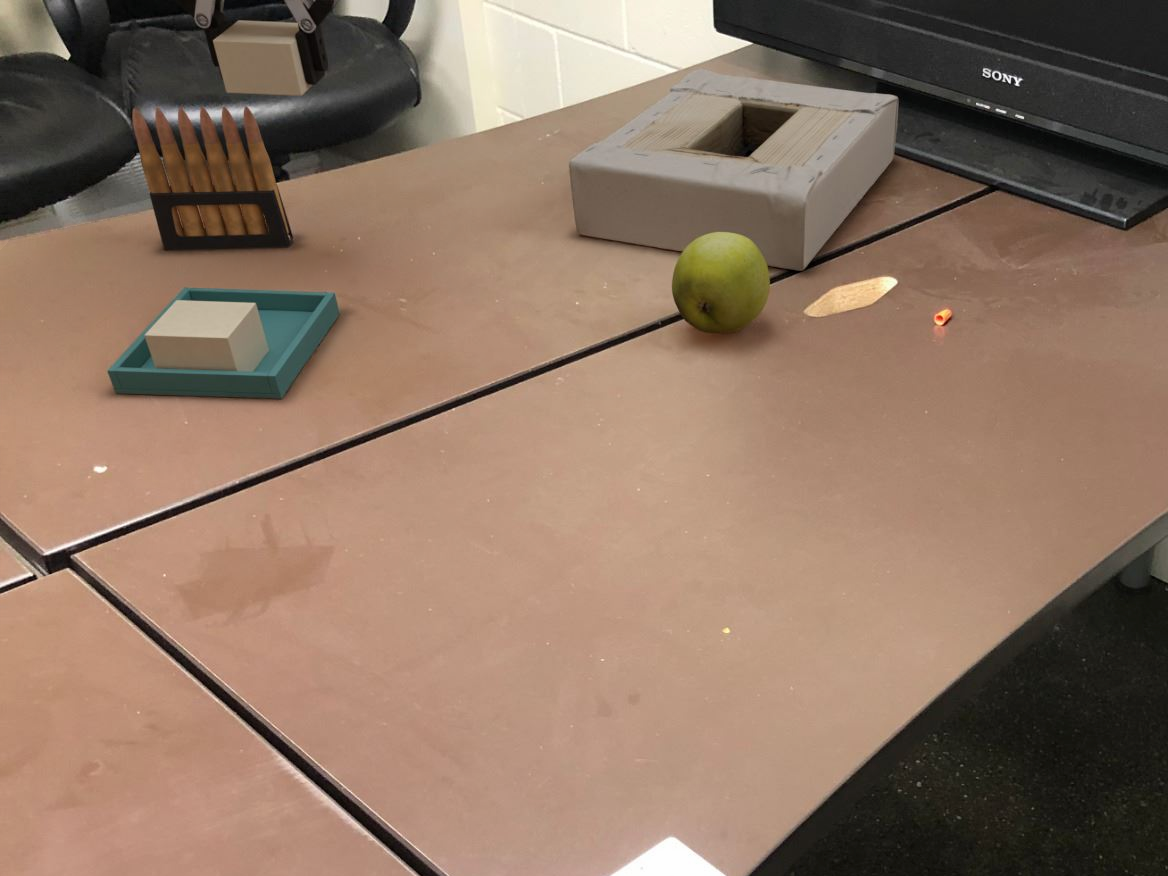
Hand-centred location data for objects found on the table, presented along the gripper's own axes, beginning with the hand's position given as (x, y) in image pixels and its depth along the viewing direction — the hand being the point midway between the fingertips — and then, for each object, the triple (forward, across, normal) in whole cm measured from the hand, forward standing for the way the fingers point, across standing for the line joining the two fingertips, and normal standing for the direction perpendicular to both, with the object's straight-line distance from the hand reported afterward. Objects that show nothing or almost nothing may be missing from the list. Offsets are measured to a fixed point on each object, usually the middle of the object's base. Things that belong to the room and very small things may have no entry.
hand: (274, 75), depth 110 cm
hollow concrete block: (+15, -38, -17) cm, 44 cm away
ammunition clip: (+16, +8, -2) cm, 18 cm away
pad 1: (+15, +1, +22) cm, 27 cm away
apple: (+15, -37, +13) cm, 42 cm away
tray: (+15, +1, +19) cm, 24 cm away
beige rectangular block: (+1, 0, 0) cm, 1 cm away
